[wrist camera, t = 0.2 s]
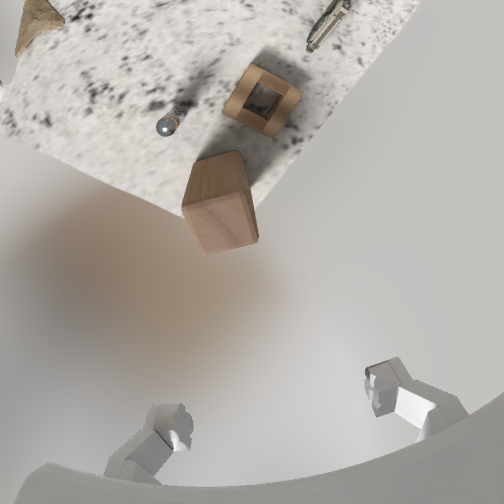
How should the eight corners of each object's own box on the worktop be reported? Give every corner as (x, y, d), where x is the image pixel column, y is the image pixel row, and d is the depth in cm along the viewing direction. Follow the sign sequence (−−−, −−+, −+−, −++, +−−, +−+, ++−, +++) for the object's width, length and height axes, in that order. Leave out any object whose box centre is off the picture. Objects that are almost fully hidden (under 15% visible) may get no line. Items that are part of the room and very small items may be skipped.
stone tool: (13, 59, 30) (3, 14, 21) (19, 60, 32) (9, 15, 23) (62, 23, 30) (51, -22, 21) (68, 25, 32) (56, -19, 24)
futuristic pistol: (301, 37, 44) (302, 51, 39) (340, -12, 32) (349, -6, 27) (311, 43, 45) (314, 58, 40) (351, -5, 33) (361, 2, 28)
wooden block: (239, 147, 54) (245, 189, 39) (250, 189, 60) (260, 244, 45) (192, 161, 55) (178, 207, 39) (206, 201, 61) (200, 259, 46)
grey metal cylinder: (173, 104, 47) (160, 114, 39) (188, 111, 48) (179, 122, 40) (166, 119, 49) (152, 132, 40) (181, 125, 50) (170, 139, 41)
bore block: (249, 63, 44) (251, 63, 40) (298, 90, 47) (303, 92, 44) (222, 110, 49) (222, 113, 46) (270, 134, 53) (273, 139, 50)
